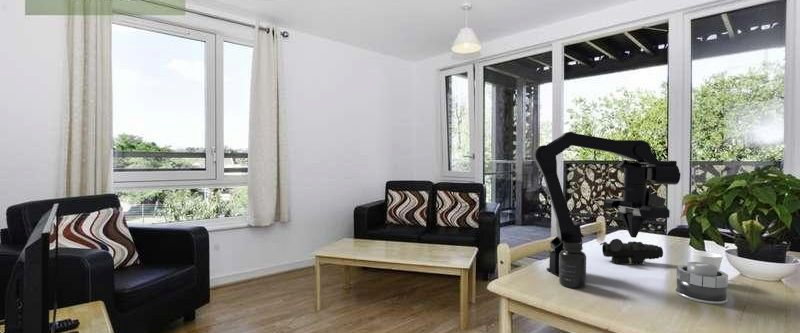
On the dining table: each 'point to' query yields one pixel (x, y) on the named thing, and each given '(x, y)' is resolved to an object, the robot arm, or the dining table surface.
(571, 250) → the supplement bottle
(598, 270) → the dining table surface
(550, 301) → the dining table surface
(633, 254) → the night vision scope
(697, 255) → the cup
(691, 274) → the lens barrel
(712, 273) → the grey squat block
